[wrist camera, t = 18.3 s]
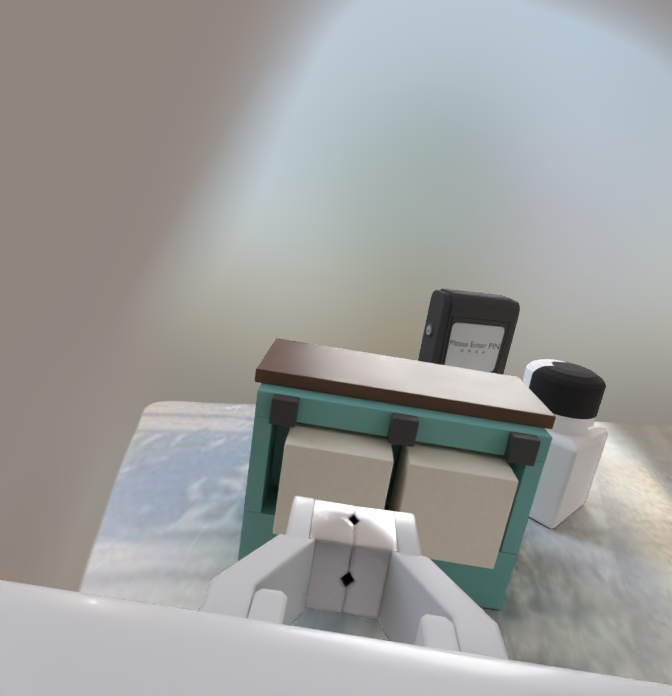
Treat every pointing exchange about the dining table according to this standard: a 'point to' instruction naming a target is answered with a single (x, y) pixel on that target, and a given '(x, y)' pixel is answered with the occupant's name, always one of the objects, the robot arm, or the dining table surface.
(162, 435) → the dining table surface
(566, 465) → the medicine bottle
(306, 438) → the piano key left
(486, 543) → the piano key right
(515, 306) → the card reader
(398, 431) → the toy piano
